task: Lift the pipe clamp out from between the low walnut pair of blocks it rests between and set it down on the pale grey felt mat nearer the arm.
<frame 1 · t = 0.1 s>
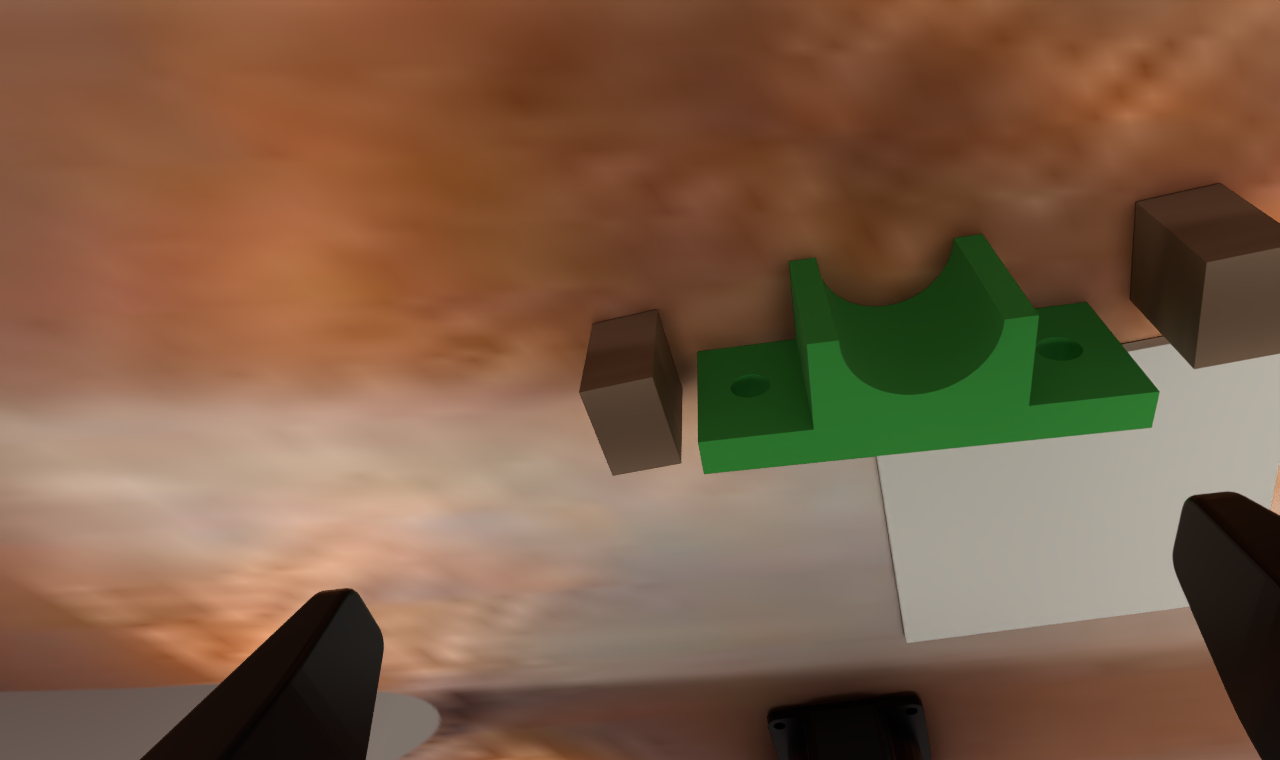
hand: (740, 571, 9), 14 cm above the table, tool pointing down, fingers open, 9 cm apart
pair of blocks: (888, 304, 23), on the table
mat: (1069, 499, 27), on the table
pipe clamp: (885, 303, 23), on the table
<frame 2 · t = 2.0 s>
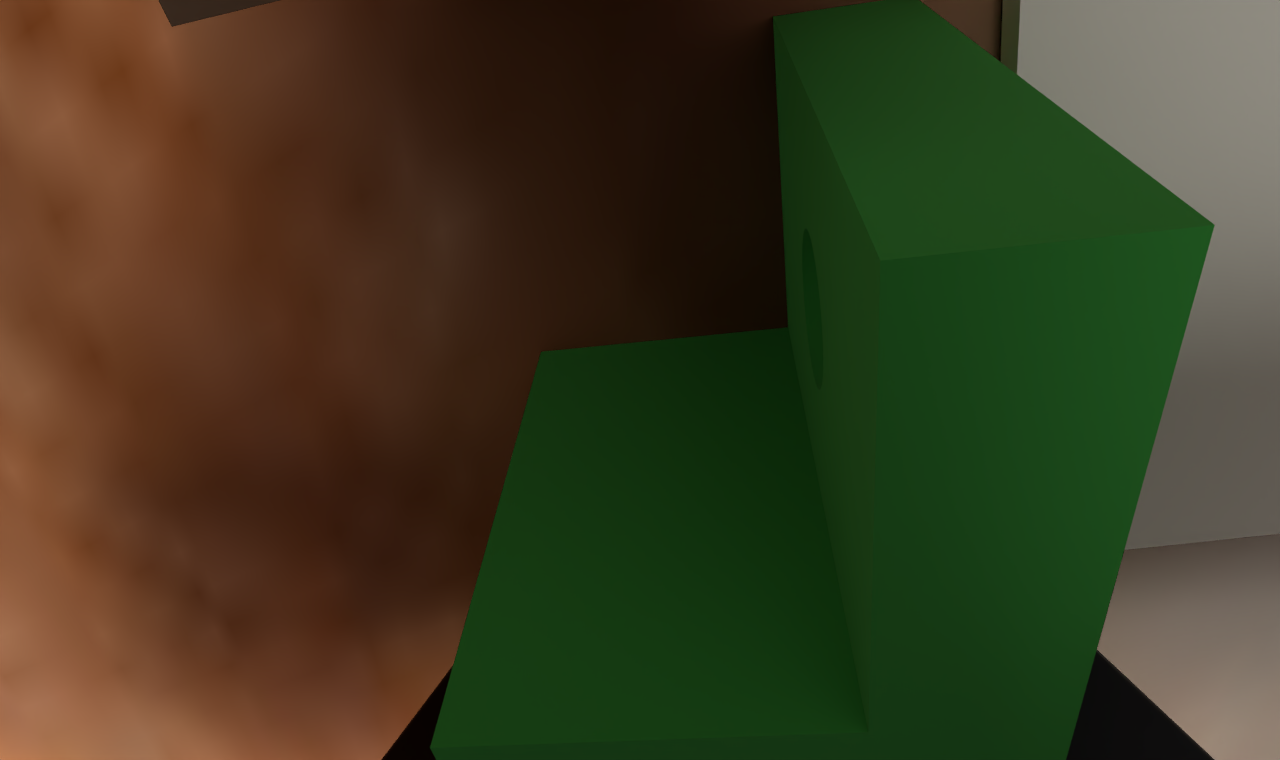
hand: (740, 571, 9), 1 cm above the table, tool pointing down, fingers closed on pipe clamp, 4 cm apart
pair of blocks: (724, 508, 10), on the table
pipe clamp: (743, 497, 10), on the table, touching gripper
when the fingers open (2 cm above the table, at t = 5.9 s): pipe clamp stays where it is, resting on mat.
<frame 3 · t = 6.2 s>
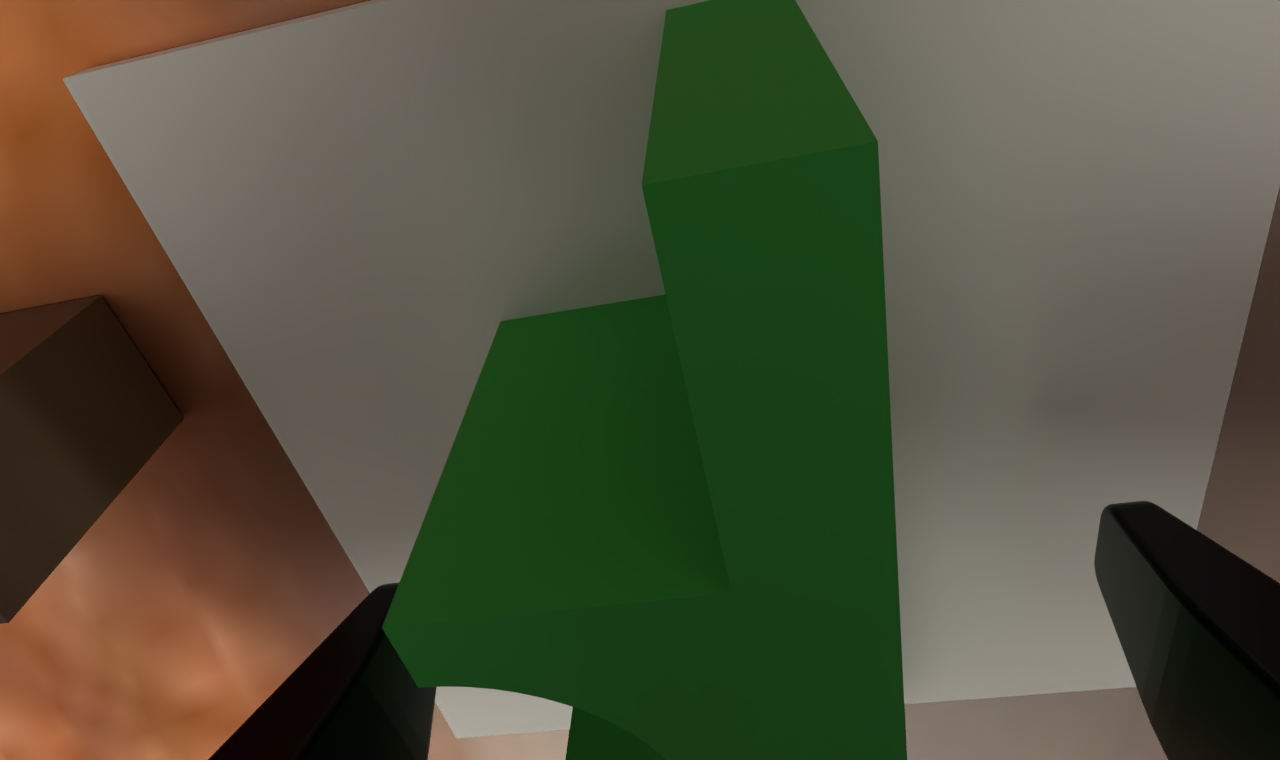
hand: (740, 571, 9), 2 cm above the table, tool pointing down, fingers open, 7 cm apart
pair of blocks: (294, 699, 15), on the table
mat: (730, 429, 11), on the table
pipe clamp: (699, 448, 11), resting on mat
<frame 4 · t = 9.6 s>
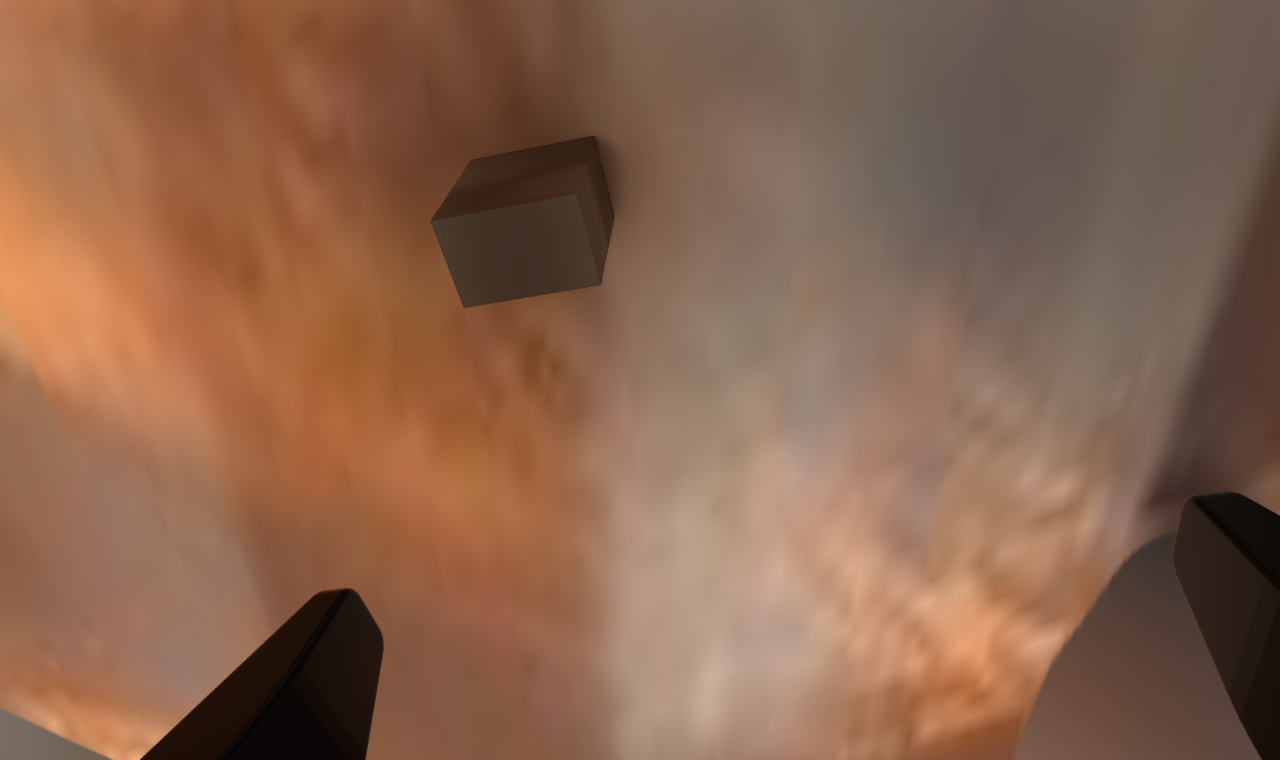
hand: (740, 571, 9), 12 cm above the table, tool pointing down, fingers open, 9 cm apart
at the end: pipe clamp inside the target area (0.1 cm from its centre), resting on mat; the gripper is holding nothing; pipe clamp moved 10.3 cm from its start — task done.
